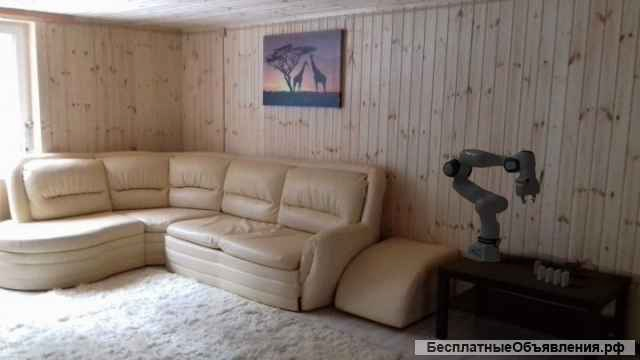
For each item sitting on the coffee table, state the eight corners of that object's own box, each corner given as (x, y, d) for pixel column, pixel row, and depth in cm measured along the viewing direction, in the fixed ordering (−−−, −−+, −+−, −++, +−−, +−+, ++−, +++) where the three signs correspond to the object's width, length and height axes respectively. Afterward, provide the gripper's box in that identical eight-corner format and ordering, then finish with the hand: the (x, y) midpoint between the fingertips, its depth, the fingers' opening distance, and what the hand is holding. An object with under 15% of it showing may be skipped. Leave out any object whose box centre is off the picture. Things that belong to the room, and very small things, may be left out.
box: (569, 277, 318) (570, 264, 317) (563, 274, 323) (564, 261, 323) (579, 277, 319) (580, 264, 318) (572, 274, 325) (573, 261, 324)
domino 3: (544, 281, 310) (545, 268, 309) (549, 280, 312) (549, 267, 311) (547, 282, 308) (548, 269, 307) (552, 281, 311) (553, 268, 310)
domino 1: (533, 273, 324) (534, 261, 323) (538, 272, 327) (538, 260, 326) (536, 274, 323) (537, 262, 322) (541, 273, 325) (541, 261, 325)
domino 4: (552, 283, 306) (553, 270, 305) (556, 282, 309) (557, 269, 308) (555, 284, 305) (556, 271, 304) (560, 283, 308) (561, 270, 307)
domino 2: (537, 279, 313) (537, 267, 312) (541, 278, 316) (542, 265, 315) (540, 280, 312) (541, 267, 311) (544, 278, 314) (545, 266, 314)
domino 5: (560, 285, 303) (561, 272, 302) (565, 284, 306) (566, 271, 305) (564, 286, 301) (565, 273, 300) (568, 285, 304) (569, 272, 303)
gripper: (532, 177, 338) (533, 201, 338) (513, 179, 325) (513, 204, 325) (542, 177, 333) (543, 201, 333) (523, 180, 320) (524, 204, 320)
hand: (528, 203), depth 329 cm, fingers open, 8 cm apart
